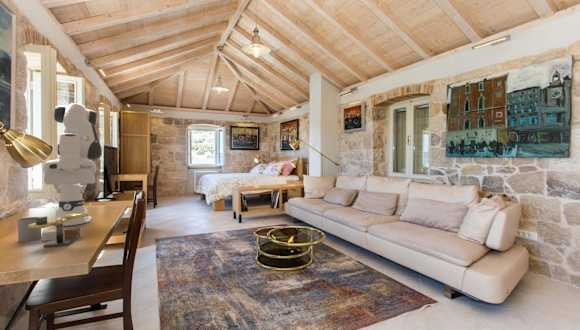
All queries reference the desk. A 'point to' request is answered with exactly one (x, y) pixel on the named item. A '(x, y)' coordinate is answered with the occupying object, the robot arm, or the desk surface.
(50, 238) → the grey stone block
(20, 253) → the desk surface
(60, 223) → the balance
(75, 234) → the walnut block
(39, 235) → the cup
